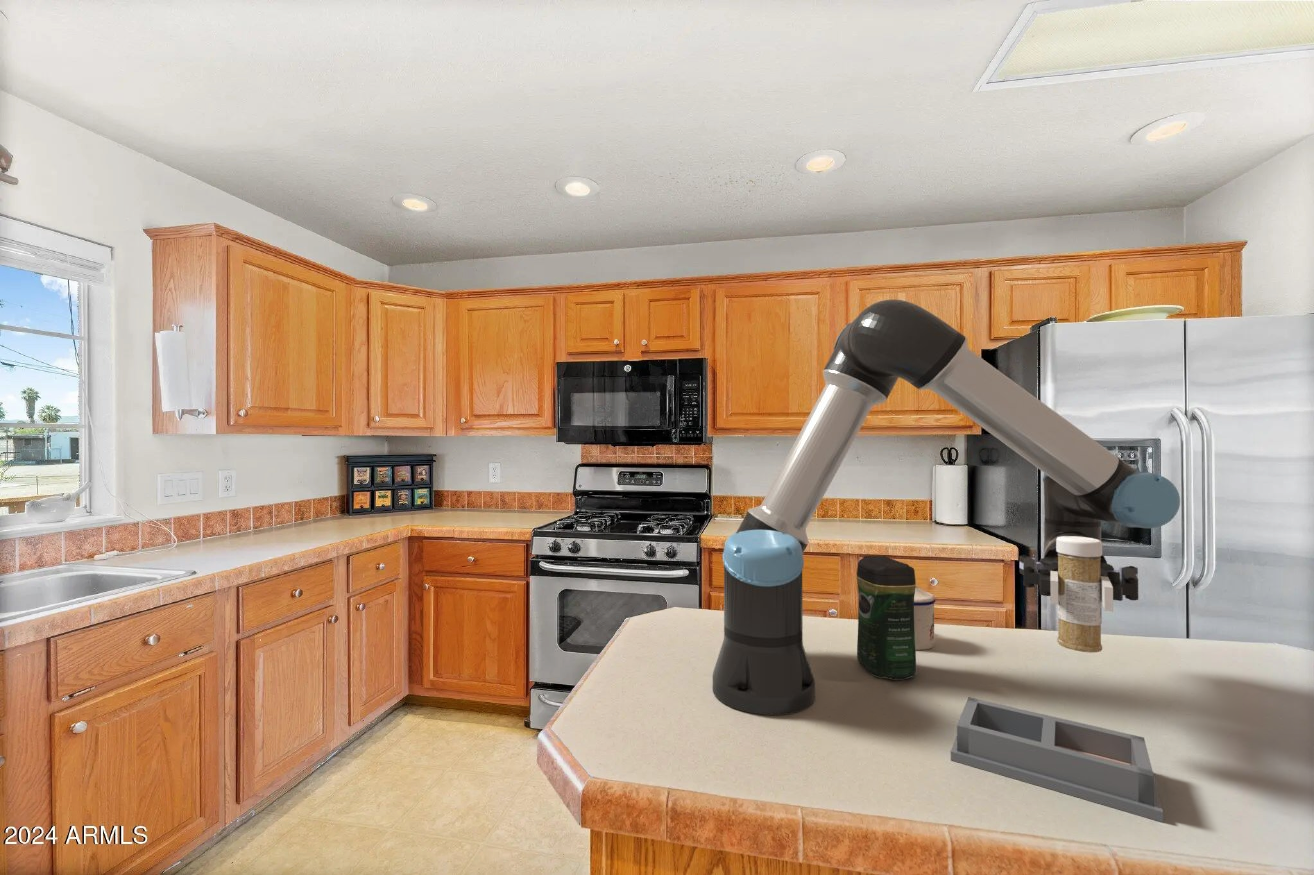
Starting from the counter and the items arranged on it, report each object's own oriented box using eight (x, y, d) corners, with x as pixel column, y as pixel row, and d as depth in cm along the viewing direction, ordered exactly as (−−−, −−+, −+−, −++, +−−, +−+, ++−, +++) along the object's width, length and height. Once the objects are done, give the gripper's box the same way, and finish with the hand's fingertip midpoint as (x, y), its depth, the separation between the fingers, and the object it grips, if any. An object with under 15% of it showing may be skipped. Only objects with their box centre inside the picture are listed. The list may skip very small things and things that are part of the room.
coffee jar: (925, 681, 89) (924, 563, 90) (876, 683, 89) (876, 564, 89) (894, 658, 99) (893, 551, 99) (850, 659, 98) (849, 552, 99)
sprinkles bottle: (1061, 638, 73) (1060, 533, 73) (1105, 647, 70) (1104, 538, 70) (1053, 647, 70) (1052, 537, 70) (1100, 657, 67) (1098, 542, 67)
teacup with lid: (943, 652, 102) (943, 587, 102) (891, 650, 103) (891, 585, 103) (919, 630, 114) (919, 572, 114) (872, 629, 115) (872, 571, 115)
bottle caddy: (950, 759, 67) (950, 725, 67) (964, 724, 76) (964, 694, 76) (1163, 822, 56) (1162, 781, 56) (1150, 772, 64) (1150, 736, 65)
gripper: (1151, 596, 80) (1182, 643, 61) (1005, 579, 90) (993, 615, 70) (1150, 542, 80) (1182, 573, 61) (1005, 531, 90) (993, 554, 71)
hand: (1081, 595), depth 66 cm, fingers closed on sprinkles bottle, 4 cm apart
